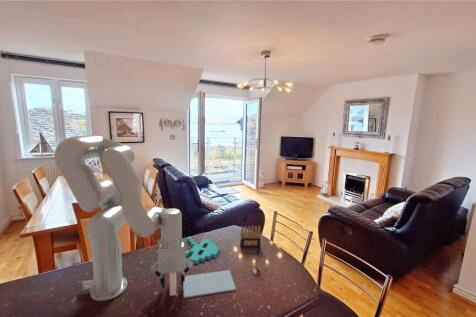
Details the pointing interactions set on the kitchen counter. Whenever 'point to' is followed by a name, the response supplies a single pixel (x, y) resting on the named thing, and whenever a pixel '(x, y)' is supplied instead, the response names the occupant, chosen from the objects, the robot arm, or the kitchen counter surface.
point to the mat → (208, 283)
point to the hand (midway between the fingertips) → (172, 283)
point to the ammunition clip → (250, 238)
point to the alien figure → (202, 250)
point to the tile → (172, 283)
